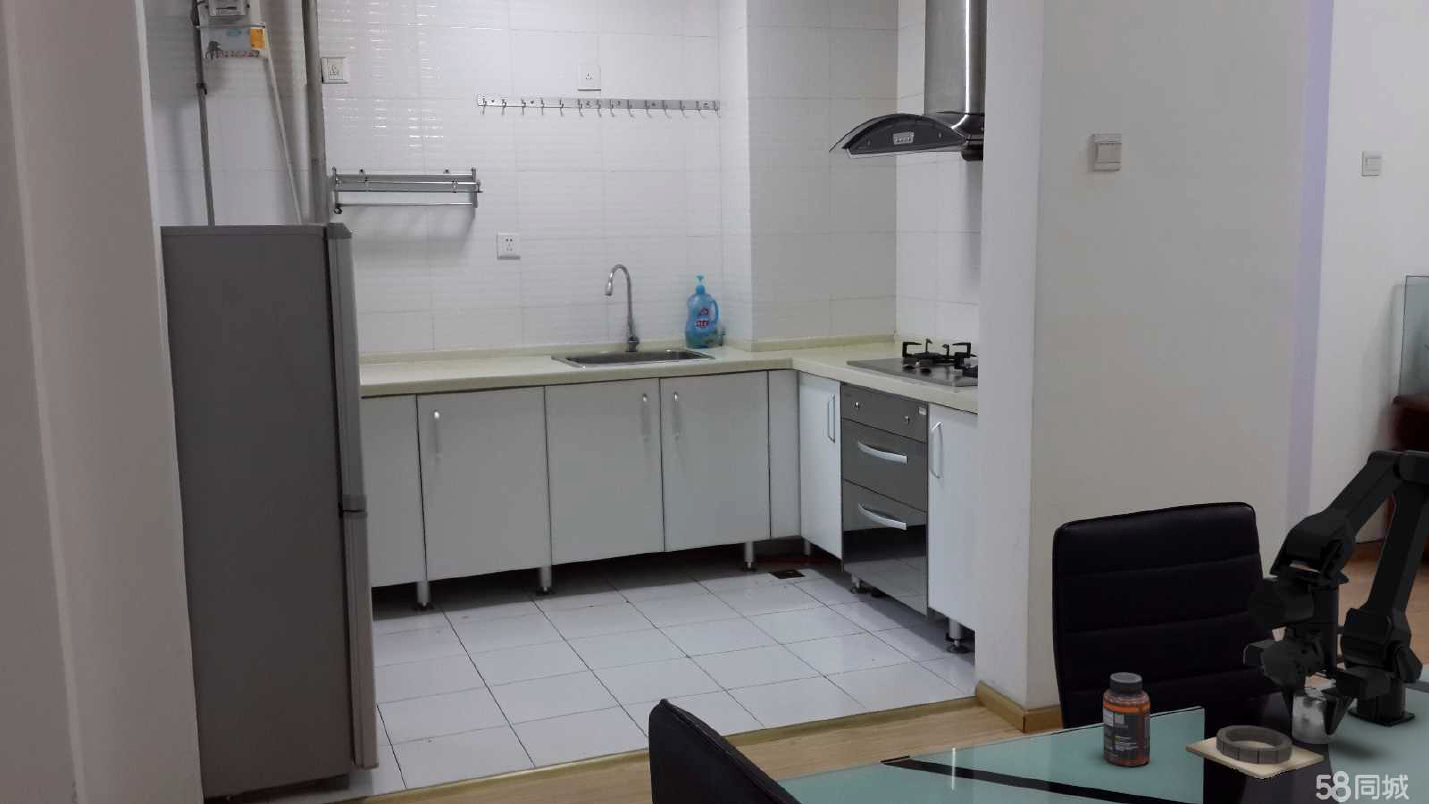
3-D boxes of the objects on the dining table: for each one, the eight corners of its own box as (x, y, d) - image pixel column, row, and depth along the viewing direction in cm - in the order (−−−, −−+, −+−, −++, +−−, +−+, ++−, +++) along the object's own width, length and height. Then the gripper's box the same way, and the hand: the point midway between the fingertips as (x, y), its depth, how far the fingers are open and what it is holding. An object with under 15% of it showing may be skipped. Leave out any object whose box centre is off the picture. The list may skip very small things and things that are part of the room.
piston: (1308, 728, 175) (1309, 686, 175) (1340, 739, 171) (1341, 697, 170) (1284, 735, 173) (1285, 693, 172) (1316, 746, 168) (1317, 703, 168)
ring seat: (1246, 732, 174) (1246, 715, 174) (1323, 760, 164) (1323, 743, 164) (1185, 749, 169) (1186, 732, 168) (1261, 780, 158) (1262, 762, 158)
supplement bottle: (1144, 750, 169) (1144, 669, 168) (1155, 768, 163) (1155, 684, 162) (1098, 750, 169) (1099, 669, 168) (1108, 767, 164) (1108, 684, 162)
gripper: (1217, 611, 174) (1216, 719, 176) (1339, 645, 158) (1336, 763, 160) (1271, 599, 180) (1269, 704, 181) (1394, 631, 163) (1390, 745, 165)
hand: (1312, 728), depth 172 cm, fingers closed on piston, 5 cm apart
